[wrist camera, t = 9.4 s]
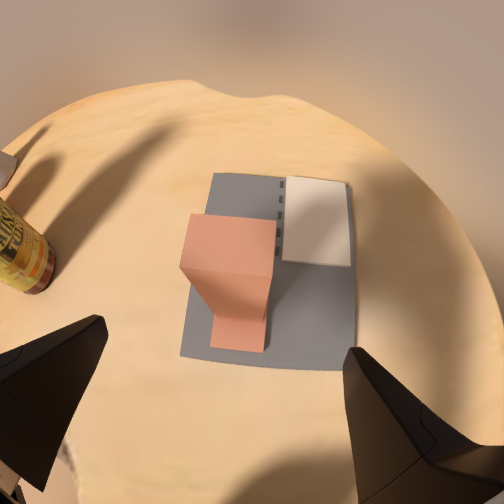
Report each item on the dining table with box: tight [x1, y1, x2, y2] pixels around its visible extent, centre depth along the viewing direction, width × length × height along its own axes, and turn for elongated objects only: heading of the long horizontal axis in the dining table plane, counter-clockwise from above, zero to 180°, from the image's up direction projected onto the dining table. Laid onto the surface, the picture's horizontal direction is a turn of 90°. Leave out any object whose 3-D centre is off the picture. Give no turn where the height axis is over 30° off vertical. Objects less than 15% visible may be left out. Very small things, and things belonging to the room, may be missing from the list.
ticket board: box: [180, 173, 355, 371], centre depth 21 cm, size 16×12×2 cm
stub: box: [179, 214, 277, 353], centre depth 14 cm, size 6×4×11 cm, turn 174°
